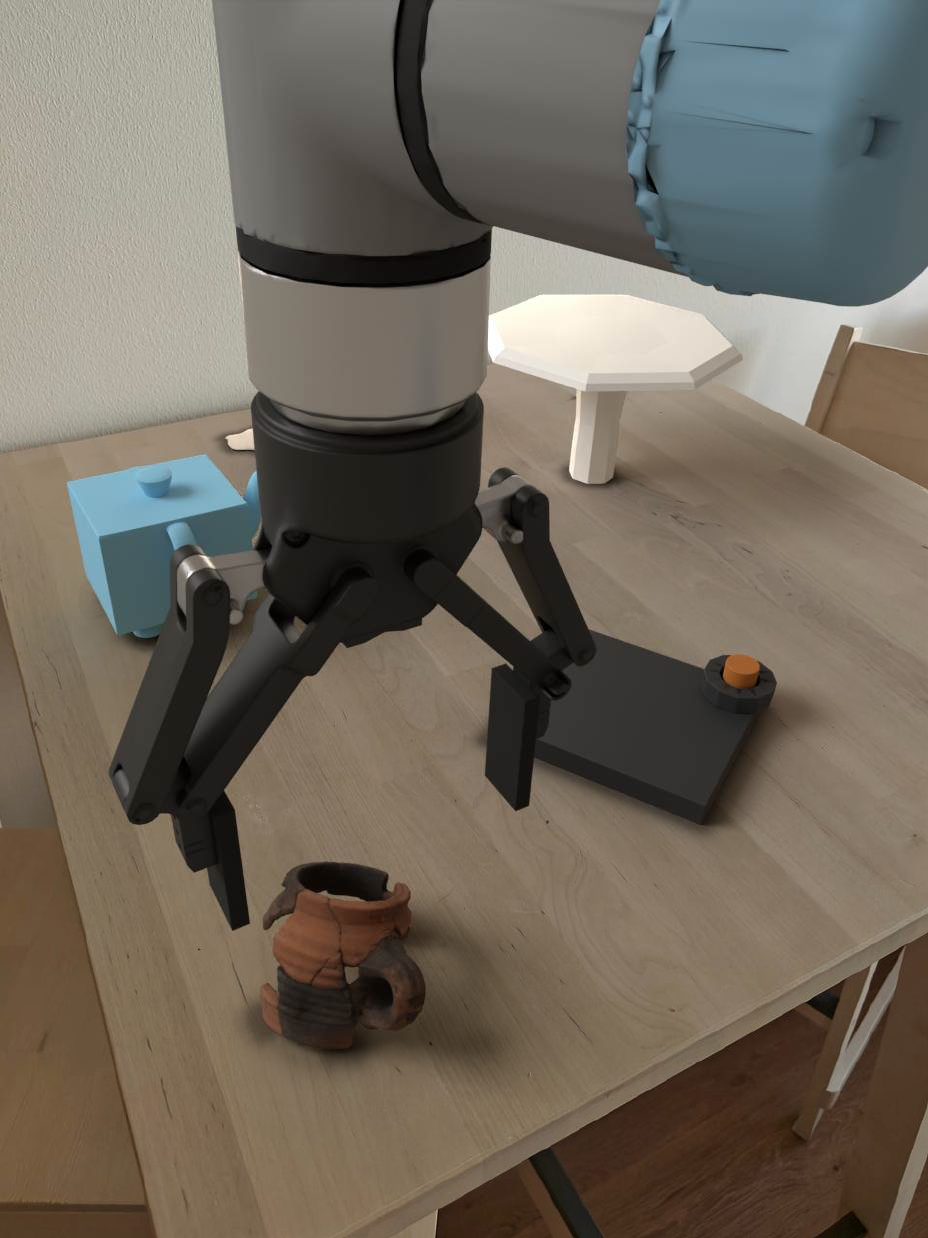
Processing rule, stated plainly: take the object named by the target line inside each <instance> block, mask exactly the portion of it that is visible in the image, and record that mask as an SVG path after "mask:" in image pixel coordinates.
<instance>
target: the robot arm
mask: <svg viewBox="0 0 928 1238" xmlns="http://www.w3.org/2000/svg"><path fill="white" fill-rule="evenodd" d="M211 4H212V5H211V7H212V15H213V25H214V33H215V34H214V35H215V45H216V53H217V63H218V72H219V73H218V74H219V82H220V92H221V102H222V113H223V121H224V122H223V124H224V133H225V141H226V152H227V162H228V173H229V181H230V193H231V203H232V211H233V212H232V213H233V223H234V226H235V235H236V245H237V248H236V251H237V262H238V263H237V264H238V273H239V274H238V275H239V285H240V294H241V297H240V298H241V307H242V317H243V329H244V338H245V339H244V341H245V350H246V359H247V361H246V362H247V371H248V372H247V373H248V380H249V381H250V383H252V385H253V386H254V388H255V390H257V392H256V394H255V395H254V396H253V398H252V401H251V404H250V416H251V426H252V428H253V439H254V450H253V451H254V458H255V459H254V460H255V469H256V470H255V471H257V482H258V494H259V501H260V508H261V514H262V518H261V525H260V530H259V534H258V536H257V539H256V541H255V543H254V545H253V550H252V551H245V552H238V553H232V554H225V555H218V556H211V557H207V556H206V554H205V553H204V552H203V550H202V549H201V548H200V547H198V546H196V545H191V544H187V545H184V546H181V547H179V548H178V549H176V550H175V551H174V553H173V554H172V556H171V558H170V605H171V606H170V609H169V611H168V614H167V617H166V619H165V622H164V625H163V627H162V630H161V633H160V634H159V635H158V638H157V641H156V643H155V646H154V648H153V652H152V654H151V656H150V659H149V662H148V665H147V667H146V670H145V673H144V676H143V678H142V681H141V683H140V686H139V689H138V691H137V694H136V697H135V699H134V702H133V704H132V707H131V709H130V712H129V715H128V718H127V721H126V723H125V726H124V728H123V731H122V734H121V736H120V739H119V742H118V744H117V747H116V749H115V752H114V755H113V758H112V760H111V763H110V765H109V767H108V777H109V779H110V781H111V784H112V786H113V789H114V791H115V793H116V795H117V799H118V800H119V802H120V805H121V807H122V810H123V811H124V813H125V815H126V818H127V820H128V822H129V823H131V824H132V825H136V826H141V825H142V826H143V825H147V824H150V823H151V822H153V821H154V820H156V819H157V818H159V816H160V815H161V814H168V815H170V818H171V823H172V829H173V834H174V835H173V836H174V840H175V843H176V845H177V847H178V849H179V852H180V853H181V855H182V858H183V860H184V862H185V864H186V866H187V868H189V870H191V871H192V873H194V874H195V873H197V872H200V871H202V870H205V869H206V871H207V877H208V882H209V883H208V884H209V886H210V889H211V891H212V892H213V895H214V897H215V899H216V901H217V903H218V905H219V907H220V910H221V911H222V913H223V915H224V917H225V919H226V921H227V923H228V925H229V928H230V929H231V931H232V932H233V931H236V930H239V929H241V928H244V927H246V926H248V925H251V920H250V913H249V912H250V911H249V905H248V898H247V897H248V896H247V890H246V882H245V875H244V867H243V860H242V859H243V858H242V852H241V845H240V838H239V830H238V823H237V816H236V809H235V807H234V806H233V803H232V801H231V800H230V797H229V796H228V795H227V793H226V791H225V790H226V789H227V787H228V785H229V784H230V783H231V781H232V780H233V778H234V777H235V775H237V773H238V771H239V770H240V769H241V767H242V766H243V764H244V763H245V762H246V760H247V759H248V757H249V756H250V754H251V753H252V751H253V750H254V749H255V747H256V746H257V744H258V743H259V742H260V740H261V739H262V738H263V736H264V734H265V733H266V732H267V730H268V729H269V728H270V726H271V725H272V724H273V722H274V721H275V719H276V717H278V715H279V714H280V712H281V710H282V709H283V707H284V706H285V705H286V703H287V702H288V700H289V699H290V698H291V696H292V695H293V693H294V692H295V691H296V689H297V688H298V686H299V685H300V683H301V682H302V681H303V679H304V678H306V677H314V676H316V675H317V674H318V673H319V672H320V671H321V670H322V668H323V667H324V665H325V664H326V663H327V662H328V660H329V658H330V657H331V655H332V654H333V653H334V652H335V650H336V648H337V647H338V645H340V644H342V645H343V646H344V647H345V649H349V648H352V647H357V646H359V645H362V644H365V643H367V642H370V641H372V639H375V638H377V637H378V636H380V635H382V634H384V633H389V632H404V631H408V630H411V629H414V628H417V627H421V626H423V618H425V617H427V616H428V615H430V613H432V611H433V610H435V608H437V606H438V605H439V606H440V607H441V608H442V609H443V610H444V611H446V612H447V613H448V614H450V615H451V616H452V617H453V618H454V619H455V620H456V621H458V623H460V624H461V625H462V626H464V627H465V628H467V629H469V631H471V632H472V634H474V635H475V636H477V637H478V638H479V639H480V640H481V641H483V642H484V643H485V644H486V645H487V646H488V647H490V648H491V649H492V650H493V651H494V652H495V653H497V654H498V655H499V656H500V657H501V658H503V659H504V660H505V661H506V662H507V663H508V664H510V665H511V666H512V667H510V666H509V665H508V664H507V663H503V664H500V665H497V666H494V667H491V671H490V672H491V674H490V687H489V688H490V689H489V703H488V704H489V705H488V718H487V719H488V720H487V733H486V735H487V736H486V747H485V748H486V750H485V765H484V777H485V778H486V779H487V781H489V782H490V784H491V785H492V786H493V788H495V789H496V791H497V792H498V794H500V796H501V797H503V799H504V800H505V801H506V802H507V803H508V804H509V806H510V807H511V808H512V809H513V811H514V812H519V811H520V810H523V809H525V808H527V807H530V802H531V791H532V781H533V773H534V772H533V771H534V761H535V757H534V753H535V743H536V739H538V738H540V737H543V736H544V735H545V732H546V730H547V728H548V725H549V716H550V707H551V700H553V701H556V700H560V699H562V698H563V697H565V696H566V695H567V694H568V692H569V691H570V689H571V686H572V681H571V679H570V678H569V677H568V676H567V675H566V674H565V673H564V672H563V671H562V670H564V669H565V668H567V667H568V666H569V665H571V664H572V663H574V664H576V665H577V666H580V667H581V666H585V665H586V664H588V663H589V662H590V661H591V660H592V659H593V658H594V656H595V654H596V650H597V649H596V645H595V643H594V640H593V638H592V636H591V634H590V631H589V629H590V628H589V627H588V625H587V622H586V619H585V617H584V615H583V613H582V611H581V608H580V607H579V603H578V602H577V599H576V597H575V595H574V592H573V590H572V588H571V586H570V583H569V581H568V578H567V577H566V574H565V572H564V570H563V567H562V564H561V562H560V561H559V558H558V556H557V553H556V552H555V549H554V547H553V545H552V542H551V535H550V534H551V533H550V532H551V530H550V529H551V528H550V525H551V524H550V523H551V522H550V519H551V518H550V500H549V497H548V496H547V495H546V493H543V492H542V491H541V490H540V489H538V488H537V487H536V486H534V485H532V484H531V483H530V482H528V480H527V479H524V477H522V476H520V474H519V473H517V472H515V471H514V470H513V469H511V468H510V467H506V466H503V467H499V468H497V469H496V470H495V471H494V472H493V473H492V474H491V475H490V476H489V479H488V482H487V483H488V484H487V488H484V489H481V490H480V488H481V479H482V477H481V476H482V474H481V473H482V456H483V439H484V438H483V434H484V414H485V406H484V402H483V400H482V398H481V396H480V394H479V393H478V392H479V390H480V389H481V387H482V385H483V384H484V382H485V380H486V378H487V377H488V359H489V358H488V355H489V351H488V329H489V316H490V295H491V263H492V256H491V254H492V238H493V237H492V235H493V228H494V227H495V228H498V229H503V230H507V231H511V232H513V233H518V234H521V235H525V236H529V237H533V238H536V239H541V240H544V241H548V242H552V243H557V244H560V245H563V246H568V247H571V248H575V249H579V250H583V251H586V252H590V253H594V254H599V255H602V256H605V257H610V258H612V259H613V258H614V259H618V260H622V261H625V262H629V263H632V264H637V265H640V266H644V267H647V268H651V269H656V270H659V271H664V272H667V273H671V274H675V275H679V276H682V277H685V278H686V277H687V278H688V279H689V280H690V281H691V282H692V283H696V284H698V285H700V286H703V287H713V288H714V289H715V290H716V291H717V292H721V293H724V294H727V295H731V296H732V295H733V296H744V297H752V296H754V295H767V296H773V297H781V298H786V299H792V300H793V299H795V300H799V301H800V300H801V301H807V302H814V303H820V304H825V305H830V306H836V307H848V308H849V307H850V308H851V307H852V308H853V307H864V306H870V305H875V304H877V303H880V302H882V301H886V300H887V299H890V298H892V297H894V296H896V295H897V294H899V293H900V292H901V291H903V290H905V289H906V288H907V287H908V286H909V285H910V284H911V283H913V282H914V281H915V280H916V279H917V278H918V277H920V275H922V273H924V271H926V269H927V268H928V0H211ZM252 428H251V429H252ZM483 530H484V531H485V532H486V533H488V534H489V535H490V536H491V537H492V538H493V539H495V540H496V542H497V544H498V546H499V548H500V550H501V552H502V554H503V557H504V558H505V560H506V562H507V564H508V566H509V569H510V571H511V572H512V574H513V577H514V578H515V581H516V582H517V585H518V586H519V589H520V591H521V593H522V596H523V597H524V599H525V601H526V603H527V605H528V607H529V609H530V611H531V613H532V615H533V618H534V619H535V621H536V623H537V625H538V627H539V630H540V631H541V633H540V634H538V635H537V636H535V637H534V638H532V639H531V640H530V639H529V638H528V637H526V636H525V635H524V634H523V633H522V632H521V631H520V630H519V629H518V628H516V626H514V625H513V624H512V623H511V622H510V621H509V620H508V619H506V618H505V617H504V616H503V614H501V613H500V612H499V611H498V610H496V608H494V607H493V606H492V605H491V604H490V603H489V602H487V600H486V599H484V597H482V596H481V595H480V594H479V593H478V592H477V591H476V590H474V589H473V588H472V587H471V586H470V585H469V584H468V583H467V582H465V580H463V579H462V578H461V577H460V576H459V575H458V573H459V572H460V570H461V569H462V567H463V565H464V564H465V563H466V561H467V559H468V558H469V556H470V555H471V553H472V551H473V550H474V548H475V547H476V545H477V543H478V542H479V540H480V537H481V536H482V532H483ZM262 589H265V590H266V591H267V592H268V594H267V595H266V597H265V599H264V600H263V601H262V603H261V604H260V605H259V608H258V609H257V610H256V612H255V614H254V616H253V619H252V631H251V632H250V634H249V636H248V638H247V639H246V640H245V641H244V643H243V644H242V646H241V648H240V649H239V650H238V652H237V653H236V655H235V656H234V658H233V659H232V660H231V662H230V663H229V665H228V666H227V668H226V669H225V671H224V672H223V674H222V675H221V676H220V678H219V679H218V680H217V682H216V684H215V685H214V687H213V688H212V686H213V684H214V681H215V678H216V676H217V674H218V672H219V669H220V666H221V665H222V664H221V663H222V662H223V658H224V656H225V653H226V650H227V645H228V643H229V642H228V641H229V637H230V627H231V626H236V625H239V624H240V623H242V622H243V620H244V618H245V613H244V612H243V611H244V609H245V607H246V603H247V599H248V597H249V596H250V595H251V594H252V593H253V592H255V591H257V592H258V591H259V590H262ZM296 618H298V619H299V620H300V621H301V622H302V623H303V624H305V626H306V627H305V628H304V630H302V632H301V633H300V632H299V630H298V629H297V627H296V626H295V624H294V623H295V619H296ZM230 625H231V626H230ZM211 689H212V690H211Z"/></svg>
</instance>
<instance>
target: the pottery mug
mask: <svg viewBox="0 0 928 1238" xmlns="http://www.w3.org/2000/svg"><path fill="white" fill-rule="evenodd" d="M389 877H390V875H389V873H388V872H387V871H385V870H381V869H380V868H376V867H373V866H368V865H364V864H359V863H354V862H353V863H352V862H342V861H341V862H337V861H313V862H306V863H301V864H299V865H296V866H294V867H292V868H291V869H290V870H289V871H288V872H287V873H285V876H284V878H283V881H282V882H281V883H280V885H281V886H282V887H283V888H284V889H283V890H282V891H281V892H280V893H278V895H276V897H275V898H274V899H273V900H272V901H271V903H270V906H269V907H268V908H267V911H266V912H265V913H264V914H263V916H262V929H263V930H264V931H268V930H270V928H272V926H273V924H274V923H275V922H276V921H278V920H279V919H281V918H283V917H285V916H288V915H289V916H288V917H287V918H286V920H285V921H284V923H283V924H282V925H281V926H280V928H278V931H277V932H276V933H275V934H274V936H273V938H272V943H273V944H272V955H273V957H274V958H275V961H276V962H277V963H278V964H279V965H278V966H277V967H276V971H277V972H276V980H277V990H276V989H274V987H273V986H272V985H271V984H270V983H269V982H266V983H262V984H261V986H260V990H259V991H260V992H259V993H260V995H259V996H260V1003H261V1008H262V1020H263V1021H264V1022H265V1024H266V1025H267V1027H268V1028H270V1029H271V1030H272V1031H274V1032H275V1033H277V1034H278V1035H280V1036H282V1037H283V1038H285V1039H287V1040H290V1041H292V1042H295V1043H296V1044H298V1045H301V1046H307V1047H310V1048H312V1049H319V1050H340V1049H341V1050H342V1049H350V1048H351V1047H352V1044H353V1040H354V1035H355V1033H356V1031H357V1027H358V1025H360V1026H361V1027H362V1028H364V1029H366V1030H368V1031H375V1030H381V1031H389V1032H399V1031H401V1030H403V1029H405V1028H406V1027H408V1026H410V1025H411V1024H413V1023H414V1022H415V1021H416V1020H417V1018H418V1017H419V1015H420V1014H421V1013H422V1011H423V1010H424V1005H425V1002H426V995H427V989H426V981H425V978H424V974H423V972H422V970H421V967H419V965H418V964H417V963H416V962H415V961H414V960H413V959H412V958H411V957H410V956H409V955H408V954H407V951H406V947H405V944H404V943H403V942H402V940H400V939H404V940H407V939H408V938H409V933H410V931H411V925H412V921H413V920H412V919H413V912H412V910H411V909H410V908H409V907H408V906H409V902H410V900H411V898H412V892H411V889H410V888H409V886H408V885H407V884H406V883H403V882H398V881H397V882H396V883H394V886H393V891H391V890H389V889H388V883H389V879H390V878H389ZM322 892H326V893H327V894H328V895H332V896H341V897H343V896H344V897H351V898H357V899H360V900H362V901H358V900H357V901H356V900H344V899H340V898H333V897H332V898H330V897H328V896H326V895H323V894H320V893H322ZM390 935H391V936H393V937H390ZM395 937H396V938H395ZM398 938H399V939H398ZM346 968H352V969H353V968H358V969H357V975H358V977H357V978H355V979H354V980H353V981H351V982H350V983H349V982H348V980H347V976H346V971H345V969H346Z"/></svg>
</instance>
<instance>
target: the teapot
mask: <svg viewBox="0 0 928 1238" xmlns="http://www.w3.org/2000/svg"><path fill="white" fill-rule="evenodd" d="M247 483H248V484H247V486H246V489H245V492H244V494H243V496H241V494H240V493H239V492H238V491H237V490H236V488H235V487H234V486H233V485H232V483H231V482H230V481H229V480H228V479H227V477H226V476H225V475H224V474H223V473H222V471H221V470H220V469H219V468H218V467H217V466H216V464H215V463H214V462H213V461H212V460H211V458H210V457H209V456H208V455H207V454H206V453H204V454H200V455H192V456H189V457H184V458H183V457H182V458H178V459H174V460H168V461H163V462H158V463H153V464H147V465H138V466H133V467H130V468H127V469H124V470H119V471H114V472H108V473H104V474H99V475H94V476H88V477H84V478H80V479H75V480H70V481H67V483H66V485H67V491H68V496H69V501H70V505H71V510H72V515H73V519H74V525H75V530H76V533H77V538H78V544H79V548H80V549H79V550H80V552H81V558H82V563H83V567H84V572H85V576H86V578H87V580H88V582H89V584H90V586H91V588H92V590H93V591H94V594H95V595H96V597H97V599H98V601H99V603H100V605H101V607H102V609H103V611H104V612H105V614H106V616H107V618H108V620H109V622H110V624H111V626H112V628H113V630H114V631H115V633H116V636H121V635H125V634H129V633H130V634H131V633H132V632H133V635H135V636H136V637H138V638H142V639H148V638H149V639H150V638H154V637H157V636H159V635H160V633H161V630H162V627H163V625H164V622H165V619H166V617H167V614H168V611H169V609H170V606H171V605H170V558H171V556H172V554H173V553H174V551H175V550H176V549H178V548H179V547H181V546H184V545H187V544H191V545H196V546H198V547H200V548H201V549H202V550H203V552H204V553H205V554H206V556H207V557H211V556H218V555H225V554H232V553H238V552H245V551H252V550H253V547H254V545H253V539H254V538H255V536H256V534H257V533H258V531H259V528H260V526H261V525H260V524H261V523H262V514H261V508H260V501H259V494H258V482H257V471H256V470H255V471H254V472H253V473H252V474H251V476H250V478H249V481H248V482H247ZM254 599H258V590H257V591H255V592H253V593H252V594H251V595H250V596H249V597H248V599H247V601H250V600H254ZM247 601H246V602H247Z"/></svg>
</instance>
